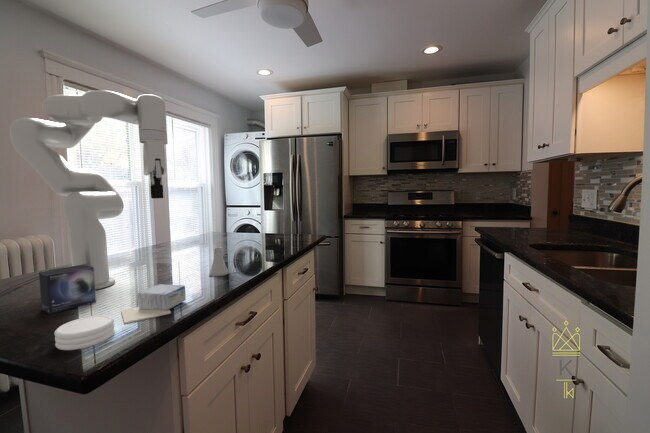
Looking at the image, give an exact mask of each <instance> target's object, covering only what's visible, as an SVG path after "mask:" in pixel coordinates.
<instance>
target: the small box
mask: <svg viewBox="0 0 650 433" xmlns="http://www.w3.org/2000/svg"><path fill="white" fill-rule="evenodd" d="M38 276H39V290H40V305H41V307H40V309H41V310H42V311H43V312H45V313H47V314H49V315H52V314H56V313H60V312H64V311H68V310H71V309H75V308H79V307H82V306H87V305H90V304H94V303H96V302H97V299H96V290H95V282H94V267H91V266H88V265H85V264H83V265H77V266H72V265H71V266H66V267H61V268H55V269H49V270H43V271H39V272H38Z"/></svg>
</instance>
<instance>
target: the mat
mask: <svg viewBox="0 0 650 433" xmlns="http://www.w3.org/2000/svg"><path fill="white" fill-rule="evenodd" d="M120 312H121V316H122V319H123V324H124V325H126V324H129V323H135V322H140V321H143V320H149V319H153V318H157V317H161V316H165V315H170V314H172V311H171V310H170V309H169V310H151V309H139V306H136V307H132V308H131V307H130V308H126V309H122V310H121V311H120Z"/></svg>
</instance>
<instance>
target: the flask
mask: <svg viewBox="0 0 650 433" xmlns="http://www.w3.org/2000/svg"><path fill="white" fill-rule="evenodd" d="M222 250H223V247H214V248H213V253H214V256H213V260H212V264H211V268H210V271H209V275H208V276H209V277H223V276H226V275H229V274H230V273H229V269H228V268H227V265H226V262H225V259H224V257H223V253H222Z"/></svg>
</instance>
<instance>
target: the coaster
mask: <svg viewBox="0 0 650 433" xmlns="http://www.w3.org/2000/svg"><path fill="white" fill-rule="evenodd" d="M114 321H115V319H114V318H113V317H111V316H110V315H106V314H105V315H104V314H102V315H99V314H97V315H91V316H89V315H88V316H84V317H82V318H77V319H74V320H70V321H68V322H66V323H63V324H62V325H59V327H58V328H56V330H54V333H53V335H54V336H55V337H54V341H55V344H54V345H55V348H57V349H58V350H59V351H61V350H62V351H76V350H82V349H85V348H86V349H87V348H90V347H93V346H95V345H98V344H101V343H103V342H105V341H107V340H108V339H110V338H112V336H114V334H115V331H116V330H115V323H114Z"/></svg>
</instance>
